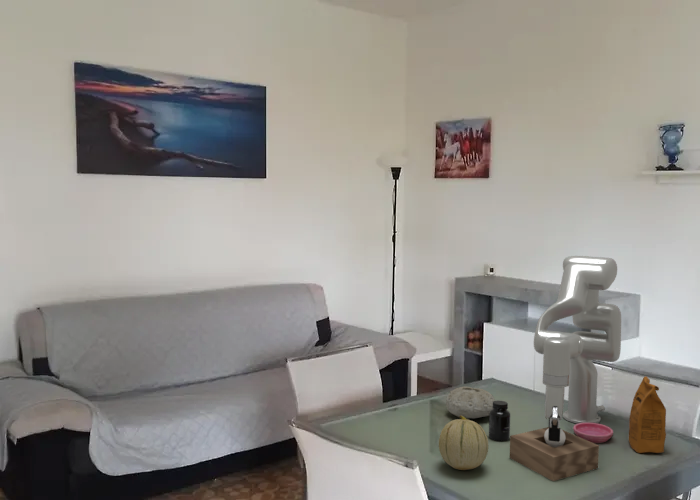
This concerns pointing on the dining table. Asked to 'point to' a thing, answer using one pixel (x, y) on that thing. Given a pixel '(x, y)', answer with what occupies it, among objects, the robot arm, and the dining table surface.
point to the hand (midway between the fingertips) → (553, 434)
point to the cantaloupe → (463, 444)
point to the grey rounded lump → (469, 402)
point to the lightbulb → (555, 443)
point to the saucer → (593, 432)
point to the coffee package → (647, 420)
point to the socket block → (554, 454)
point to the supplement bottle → (499, 421)
